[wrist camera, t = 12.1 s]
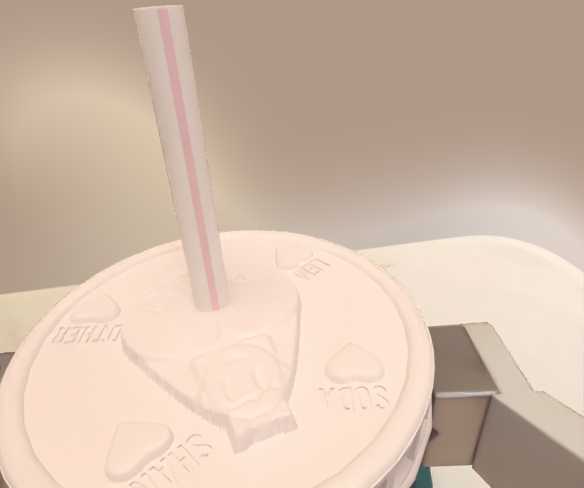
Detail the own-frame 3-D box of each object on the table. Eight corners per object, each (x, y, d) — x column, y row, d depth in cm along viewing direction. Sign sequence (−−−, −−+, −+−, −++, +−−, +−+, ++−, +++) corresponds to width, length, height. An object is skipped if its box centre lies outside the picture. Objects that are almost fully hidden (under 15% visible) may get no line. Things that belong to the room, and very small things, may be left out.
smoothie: (323, 452, 15) (313, -13, 8) (447, 684, 10) (727, -7, 3) (133, 535, 13) (-109, 17, 6) (170, 873, 8) (-1047, 194, 1)
